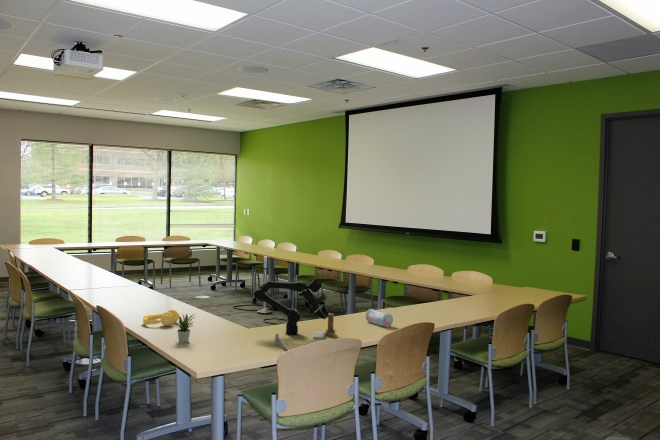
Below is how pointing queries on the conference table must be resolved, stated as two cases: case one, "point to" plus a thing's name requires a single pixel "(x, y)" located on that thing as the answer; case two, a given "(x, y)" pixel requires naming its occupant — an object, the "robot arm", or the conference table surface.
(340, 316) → the conference table surface
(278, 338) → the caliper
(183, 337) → the house plant
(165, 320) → the headset
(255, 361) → the conference table surface
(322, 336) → the board
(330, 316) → the marking gauge
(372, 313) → the pencil case
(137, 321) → the conference table surface
